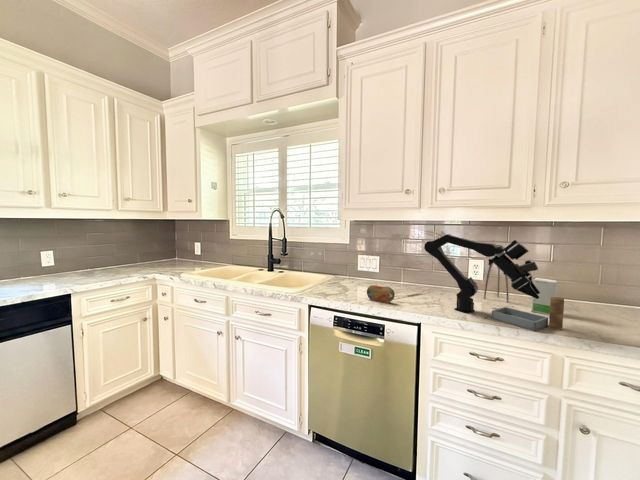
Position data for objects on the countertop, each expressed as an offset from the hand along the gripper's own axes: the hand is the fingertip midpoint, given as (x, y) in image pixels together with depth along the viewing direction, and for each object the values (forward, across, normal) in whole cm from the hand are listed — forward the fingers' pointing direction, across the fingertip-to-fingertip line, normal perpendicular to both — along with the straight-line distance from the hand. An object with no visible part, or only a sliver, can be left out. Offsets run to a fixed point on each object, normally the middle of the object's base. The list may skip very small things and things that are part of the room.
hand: (538, 295), depth 113 cm
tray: (+4, -2, +13) cm, 14 cm away
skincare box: (+10, +21, +7) cm, 25 cm away
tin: (-38, -12, +55) cm, 68 cm away
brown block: (+13, 0, +4) cm, 13 cm away
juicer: (-3, +31, +21) cm, 38 cm away
